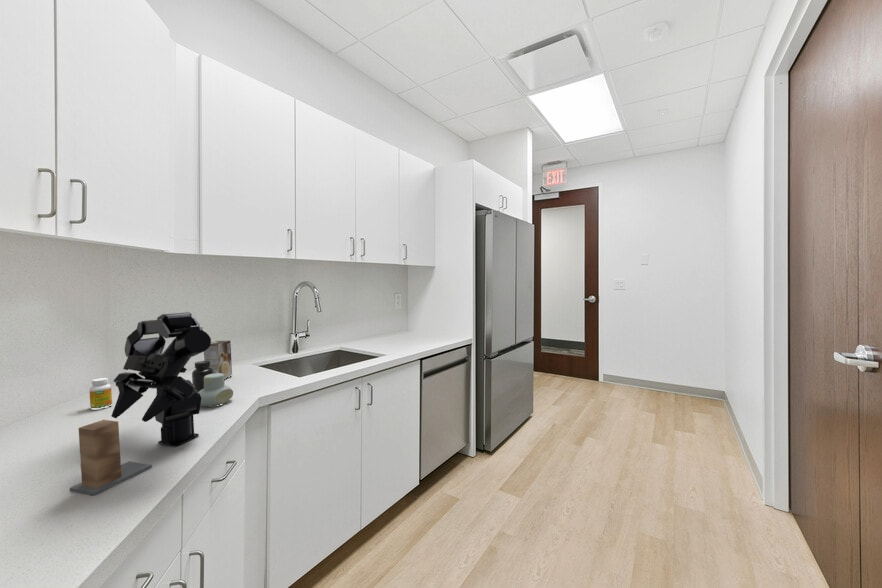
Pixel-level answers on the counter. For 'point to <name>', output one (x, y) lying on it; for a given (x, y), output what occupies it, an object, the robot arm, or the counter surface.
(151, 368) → the robot arm
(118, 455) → the walnut block
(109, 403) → the supplement bottle
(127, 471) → the rubber mat
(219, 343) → the coffee box
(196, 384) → the supplement bottle
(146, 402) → the counter surface
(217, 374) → the air freshener
